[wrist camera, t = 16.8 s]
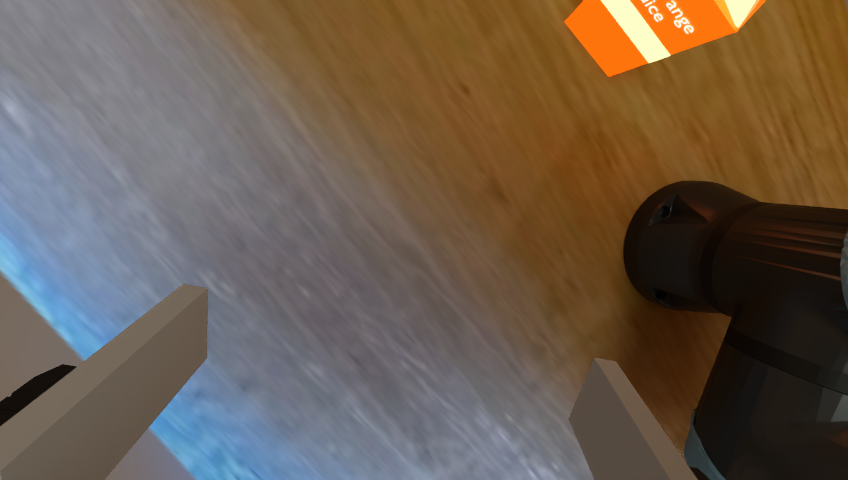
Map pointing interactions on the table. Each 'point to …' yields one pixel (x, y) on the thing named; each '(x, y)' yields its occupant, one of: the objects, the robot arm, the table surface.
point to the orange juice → (652, 28)
